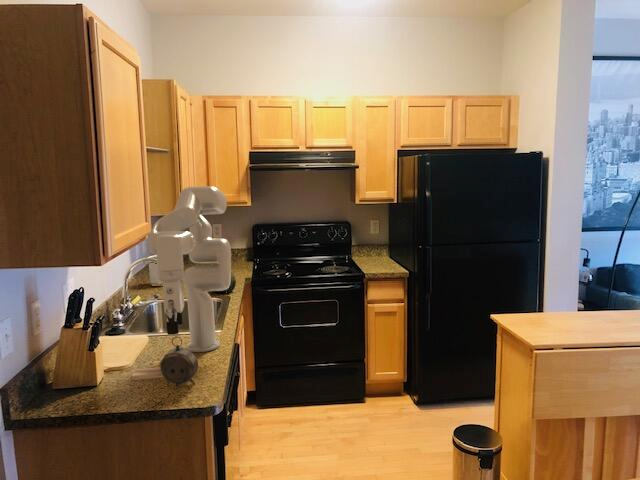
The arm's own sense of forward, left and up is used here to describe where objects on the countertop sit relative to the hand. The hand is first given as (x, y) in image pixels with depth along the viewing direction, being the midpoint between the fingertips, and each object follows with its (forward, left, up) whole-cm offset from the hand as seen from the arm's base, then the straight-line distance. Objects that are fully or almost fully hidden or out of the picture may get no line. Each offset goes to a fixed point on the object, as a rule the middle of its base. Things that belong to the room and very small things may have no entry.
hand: (175, 329), depth 143 cm
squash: (-118, +10, -19) cm, 120 cm away
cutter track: (-11, -8, -19) cm, 23 cm away
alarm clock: (-1, 0, -19) cm, 19 cm away
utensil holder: (-147, -27, -19) cm, 151 cm away
